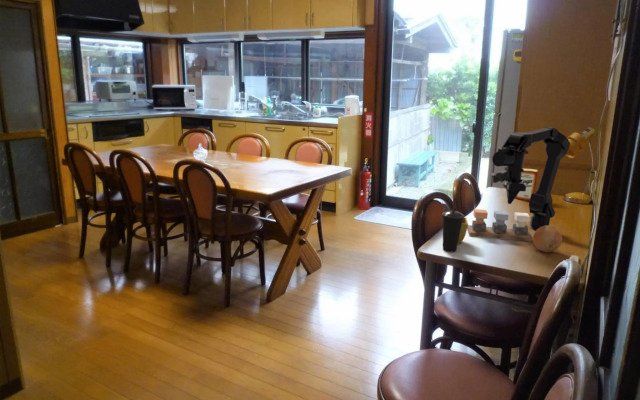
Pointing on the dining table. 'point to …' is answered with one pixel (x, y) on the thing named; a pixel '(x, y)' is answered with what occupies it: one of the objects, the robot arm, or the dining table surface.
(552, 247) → the onion
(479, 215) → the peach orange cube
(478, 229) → the walnut button board
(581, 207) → the dining table surface
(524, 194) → the baking soda box
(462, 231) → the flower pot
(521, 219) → the cream button
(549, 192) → the robot arm
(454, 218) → the drinking cup
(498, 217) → the slate button
